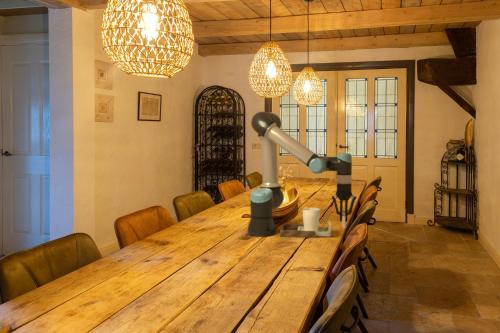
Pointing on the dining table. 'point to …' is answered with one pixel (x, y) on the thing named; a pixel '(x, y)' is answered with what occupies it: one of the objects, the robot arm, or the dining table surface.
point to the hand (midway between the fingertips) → (343, 227)
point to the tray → (320, 230)
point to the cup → (311, 219)
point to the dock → (295, 231)
